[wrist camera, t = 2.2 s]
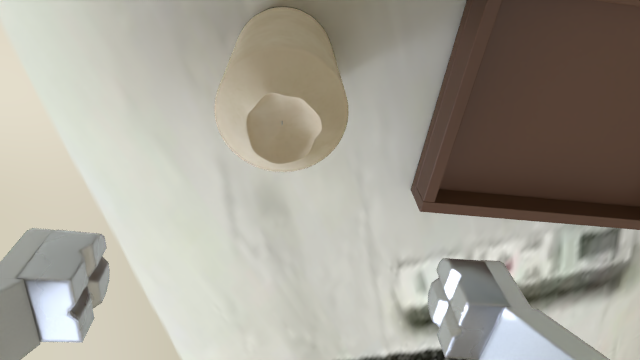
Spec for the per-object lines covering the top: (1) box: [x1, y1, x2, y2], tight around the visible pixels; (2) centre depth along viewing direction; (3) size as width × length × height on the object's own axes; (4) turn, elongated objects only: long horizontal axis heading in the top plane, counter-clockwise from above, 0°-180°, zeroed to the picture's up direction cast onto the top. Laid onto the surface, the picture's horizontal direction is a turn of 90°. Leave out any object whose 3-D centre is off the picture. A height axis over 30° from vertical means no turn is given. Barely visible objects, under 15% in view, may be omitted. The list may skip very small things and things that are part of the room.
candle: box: [215, 7, 348, 172], centre depth 21 cm, size 6×6×10 cm
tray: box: [411, 0, 640, 230], centre depth 27 cm, size 15×19×3 cm
